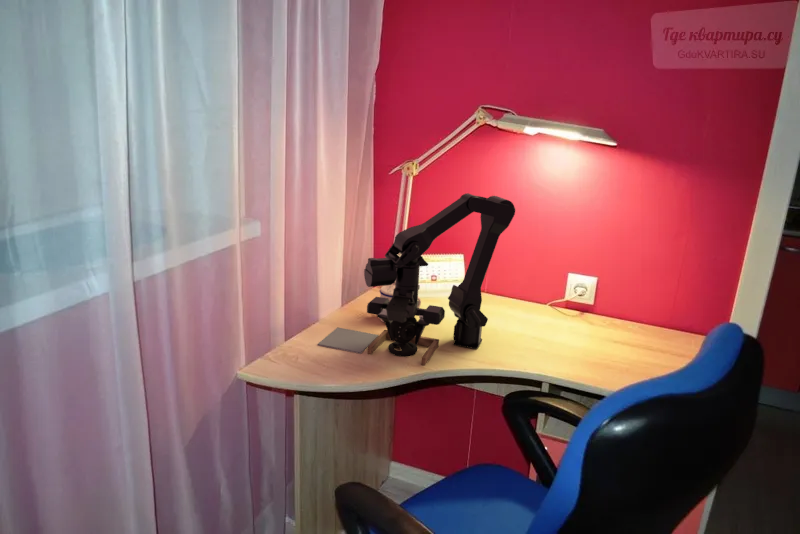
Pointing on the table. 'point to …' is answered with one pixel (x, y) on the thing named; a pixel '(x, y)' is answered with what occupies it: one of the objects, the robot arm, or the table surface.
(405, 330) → the webcam
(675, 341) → the table surface
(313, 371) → the table surface
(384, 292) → the teacup with lid
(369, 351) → the holder
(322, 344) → the mat
